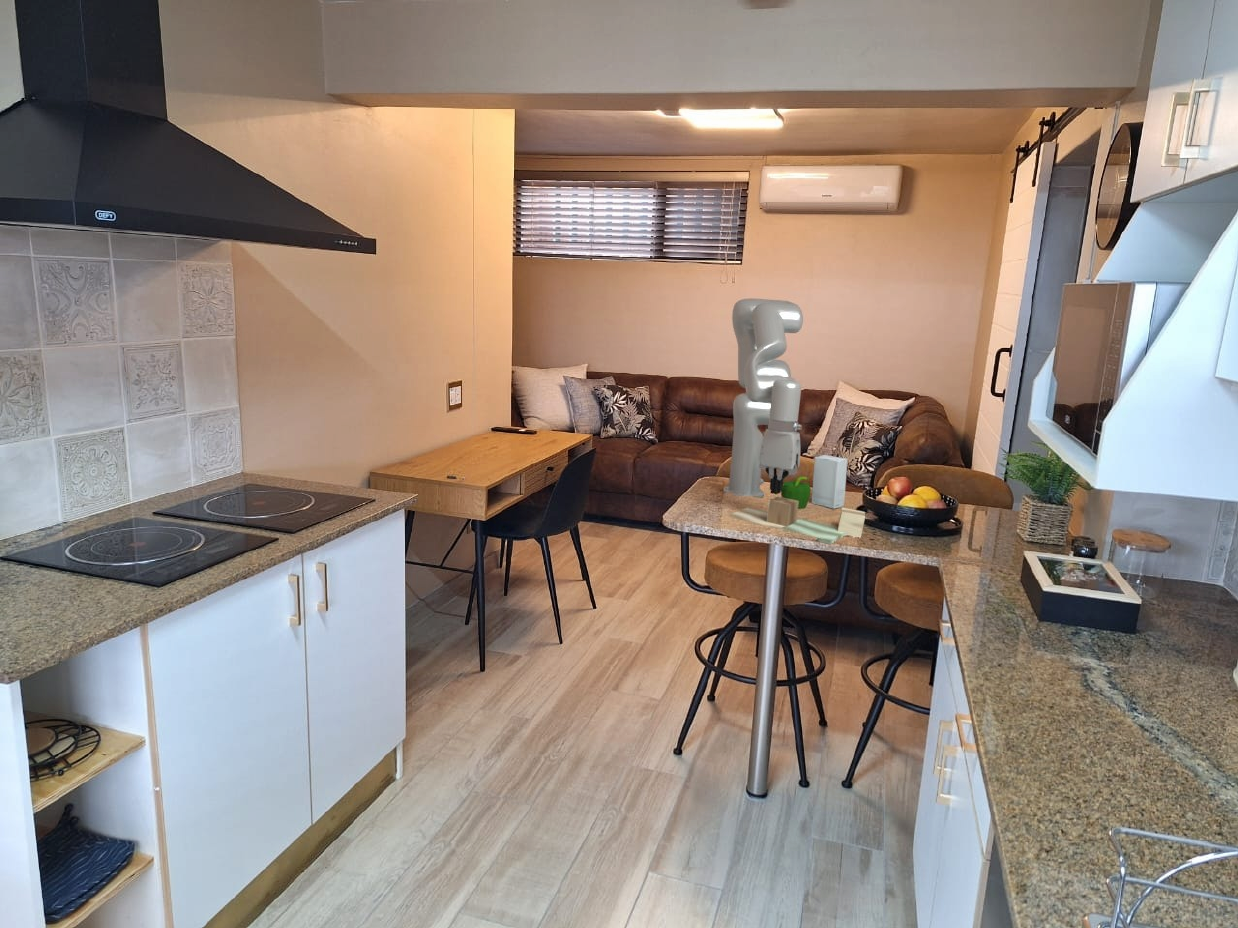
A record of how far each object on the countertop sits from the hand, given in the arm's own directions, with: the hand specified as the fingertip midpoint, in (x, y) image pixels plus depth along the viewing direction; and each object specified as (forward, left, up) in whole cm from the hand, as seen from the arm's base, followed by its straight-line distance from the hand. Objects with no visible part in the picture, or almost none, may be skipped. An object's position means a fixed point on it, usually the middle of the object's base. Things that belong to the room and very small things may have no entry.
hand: (775, 492), depth 221 cm
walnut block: (0, 0, -5) cm, 5 cm away
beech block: (-7, +19, -9) cm, 22 cm away
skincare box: (-32, +3, -9) cm, 33 cm away
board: (-1, +4, -9) cm, 9 cm away
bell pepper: (-19, -2, -9) cm, 21 cm away
